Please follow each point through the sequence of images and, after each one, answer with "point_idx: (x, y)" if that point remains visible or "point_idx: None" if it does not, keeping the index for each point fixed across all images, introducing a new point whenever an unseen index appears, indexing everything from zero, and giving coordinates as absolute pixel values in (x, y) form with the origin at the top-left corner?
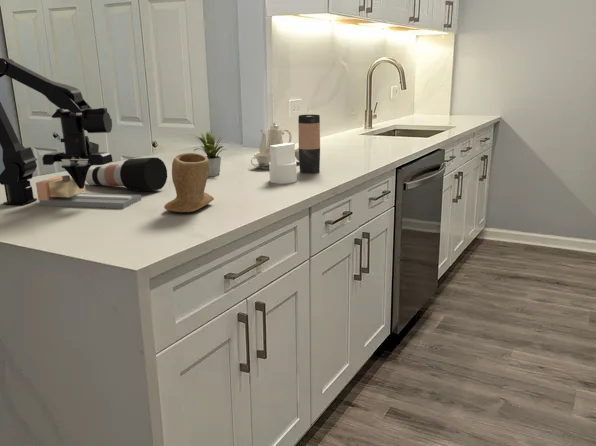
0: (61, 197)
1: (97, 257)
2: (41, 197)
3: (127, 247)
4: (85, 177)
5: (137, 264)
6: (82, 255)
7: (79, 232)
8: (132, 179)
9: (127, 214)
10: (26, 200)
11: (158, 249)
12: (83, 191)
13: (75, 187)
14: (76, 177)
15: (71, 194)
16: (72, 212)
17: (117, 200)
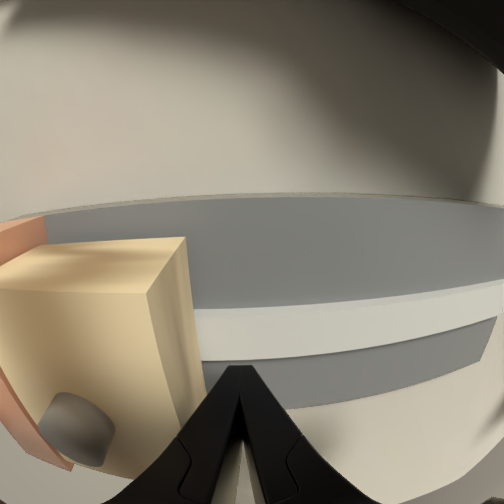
0: None
1: (428, 491)
2: None
3: (457, 468)
4: (297, 436)
5: (461, 475)
6: (412, 498)
7: (389, 485)
8: (494, 42)
9: (474, 388)
10: None
11: (484, 451)
12: (188, 270)
13: (195, 396)
14: (234, 488)
15: None
16: None
17: (463, 337)
